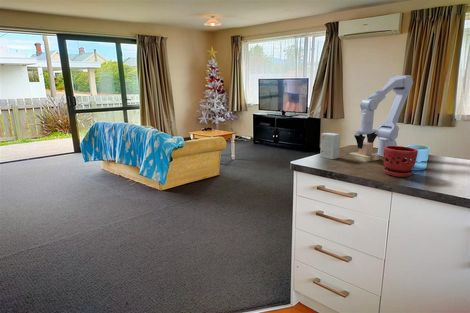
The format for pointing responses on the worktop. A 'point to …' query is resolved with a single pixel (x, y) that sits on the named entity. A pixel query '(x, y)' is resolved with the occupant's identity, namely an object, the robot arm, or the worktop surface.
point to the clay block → (366, 149)
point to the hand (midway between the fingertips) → (364, 147)
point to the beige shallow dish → (363, 157)
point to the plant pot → (399, 160)
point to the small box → (330, 145)
